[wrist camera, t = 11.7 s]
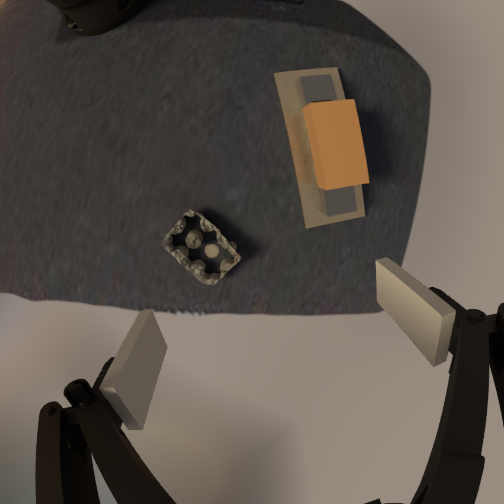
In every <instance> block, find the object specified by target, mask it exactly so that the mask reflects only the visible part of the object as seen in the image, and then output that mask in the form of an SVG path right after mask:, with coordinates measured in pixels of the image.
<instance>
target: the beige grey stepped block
mask: <svg viewBox="0 0 504 504" xmlns="http://www.w3.org/2000/svg"><path fill="white" fill-rule="evenodd" d="M273 77H274V81H275V85H276V89H277V93H278V97H279V102H280V106H281V110H282V115H283V119H284V123H285V128H286V133H287V137H288V142H289V147H290V151H291V156H292V161H293V166H294V171H295V176H296V182H297V187H298V192H299V198H300V203H301V209H302V215H303V220H304V226H305V228H311V227H316V226H320V225H325V224H330V223H335V222H339V221H344V220H349V219H354V218H358V217H363V216H365V209H364V201H363V193H362V186H361V184H359V185H354V186H348V187H342V188H337V189H331V190H324V189H322V188H319V187H318V185H317V180H316V174H315V168H314V163H313V158H312V153H311V148H310V143H309V138H308V133H307V128H306V124H305V119H304V115H303V110H302V108H304V107H305V106H306V105H308V104H309V103H315V102H325V101H336V100H345V96H344V92H343V88H342V84H341V80H340V76H339V72H338V69H337V67H336V68H319V69H307V70H297V71H288V72H280V73H274V74H273Z"/></svg>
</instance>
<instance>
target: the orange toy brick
mask: <svg viewBox="0 0 504 504" xmlns="http://www.w3.org/2000/svg"><path fill="white" fill-rule="evenodd" d="M302 110H303V115H304V119H305V124H306V128H307V133H308V138H309V143H310V148H311V153H312V158H313V163H314V168H315V174H316V180H317V185H318V187H319V188H322V189H324V190H331V189H337V188H342V187H348V186H354V185H359V184H365V183H369V176H368V169H367V163H366V157H365V151H364V145H363V140H362V134H361V129H360V124H359V119H358V115H357V110H356V106H355V101H354V99H348V100H336V101H325V102H315V103H309V104H308V105H306V106H305V107H304V108H302Z"/></svg>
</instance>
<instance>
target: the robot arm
mask: <svg viewBox="0 0 504 504" xmlns="http://www.w3.org/2000/svg"><path fill="white" fill-rule="evenodd" d="M47 1H49V2H50V3H51V4H53V5H54V6H56V7H57V8H59V10H60V13H61V15H62V18H63V20H64V23H65V25H66V26H67V27H68V28H69V29H70V30H71V31H73V32H74V33H76V34H78V35H81V36H94V35H98V34H102V33H104V32H107V31H109V30H111V29H113V28H114V27H116V26H118V25H119V24H121V23H122V22H123V21H125V20H126V19H127V18H128V17H129V16H130V15H131V14H132V13H133V12H134V11H135V10H136V9H137V7H138V6H139V4H140V3H141V1H142V0H47ZM376 278H377V302H378V303H379V304H380V305H381V306H382V308H383V309H384V310H385V311H386V312H387V313H388V314H389V315H390V316H391V318H392V319H393V320H394V321H395V322H396V323H397V324H398V326H399V327H400V328H401V329H402V330H403V331H404V333H405V334H406V335H407V336H408V337H409V338H410V340H411V341H412V342H413V343H414V344H415V346H417V348H418V349H419V350H420V351H421V353H422V354H423V355H424V356H425V357H426V359H427V360H428V361H429V362H430V364H431V365H432V366H433V367H434V366H436V365H439V364H441V363H443V362H445V361H446V359H447V355H448V351H450V353H451V354H452V355H453V358H452V362H451V365H450V369H449V373H450V376H449V381H448V387H447V392H446V397H445V402H444V406H443V411H442V415H441V420H440V423H439V427H438V431H437V435H436V438H435V441H434V445H433V448H432V451H431V454H430V457H429V461H428V463H427V467H426V469H425V472H424V475H423V477H422V480H421V483H420V485H419V487H418V490H417V491H416V493H415V495H414V497H413V499H412V501H411V503H410V504H475V500H476V497H477V493H478V490H479V486H480V481H481V477H482V473H483V469H484V463H485V458H484V456H481V451H482V445H483V438H484V432H485V425H486V416H487V405H488V391H489V365H490V368H491V372H492V375H493V379H494V383H495V387H496V391H497V396H498V400H499V405H500V409H501V415H502V420H503V426H504V303H502V304H500V305H499V307H498V311H497V314H492V315H487V316H486V314H485V313H484V312H482V311H480V310H477V309H468V310H466V309H465V308H463V307H462V306H461V305H460V304H458V303H457V302H456V301H454V300H453V299H451V297H449V296H448V295H446V293H444V292H443V291H442V290H440V289H437V288H434V287H430V288H427V287H426V286H425V285H423V284H422V283H421V282H419V281H418V280H417V279H416V278H414V277H413V276H412V275H410V274H409V273H408V272H406V271H405V270H404V269H402V268H401V267H400V266H398V265H397V264H396V263H394V262H393V261H391V260H390V259H389V258H387V257H386V258H382V259H378V260H376ZM166 350H167V345H166V343H165V340H164V338H163V335H162V333H161V331H160V328H159V326H158V324H157V321H156V319H155V316H154V314H153V311H152V309H150V310H144V311H140V312H139V314H138V316H137V318H136V320H135V322H134V323H133V325H132V327H131V328H130V330H129V332H128V334H127V336H126V338H125V339H124V341H123V343H122V345H121V347H120V349H119V350H118V352H117V354H116V356H115V357H111V358H110V359H109V360H108V361H107V362H106V363H105V364H104V366H103V368H102V372H100V374H99V377H97V379H96V381H95V383H94V385H93V387H92V388H91V387H90V385H89V383H88V382H87V381H86V380H85V379H77V380H74V381H72V382H71V383H69V384H68V385H67V386H66V387H65V389H64V396H65V397H66V398H67V400H68V401H69V403H70V404H71V405H72V407H68V408H62V406H61V405H60V404H59V403H58V402H55V401H54V402H49V403H47V404H46V405H44V406H43V408H42V409H41V410H40V414H39V422H38V432H37V446H36V474H35V475H36V476H35V477H36V479H35V480H36V504H100V500H99V496H98V491H97V486H96V481H95V475H94V470H93V463H92V456H91V453H92V455H93V457H94V459H95V462H96V464H97V466H98V468H99V470H100V472H101V474H102V476H103V478H104V480H105V481H106V484H107V485H108V487H109V489H110V491H111V493H112V494H113V496H114V498H115V500H116V501H117V503H118V504H176V503H175V502H174V500H173V499H172V498H171V497H170V496H169V494H168V493H167V492H166V491H165V490H164V488H163V487H162V486H161V485H160V483H159V482H158V481H157V479H156V478H155V477H154V476H153V474H152V473H151V472H150V470H149V469H148V467H147V466H146V465H145V463H144V462H143V460H142V459H141V458H140V456H139V455H138V453H137V452H136V451H135V449H134V447H133V446H132V445H131V443H130V441H129V440H128V438H127V437H126V435H125V433H124V432H123V431H122V430H121V425H122V422H123V423H124V424H125V426H126V427H127V428H128V430H143V427H144V424H145V420H146V417H147V413H148V410H149V406H150V403H151V399H152V396H153V392H154V389H155V386H156V383H157V379H158V376H159V373H160V369H161V366H162V363H163V359H164V357H165V354H166ZM365 504H381V502H380V499H376V500H374V501H371V502H368V503H365ZM385 504H403V503H385Z"/></svg>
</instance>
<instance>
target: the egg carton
mask: <svg viewBox="0 0 504 504" xmlns="http://www.w3.org/2000/svg"><path fill="white" fill-rule="evenodd" d="M185 215H187V216H189V217H193V216H195V215H198V216H200V217H201V222H200V225H201V227H202V229H203V231H204V232H206V231H213V230H215V231H216V232H217V240H218V243H219V244H220V245H221V247H222V248H227V249H228V251H229V252H230V253H231V254H232V255H233V256H234V259H231V258H225V259H224V260H223V261H222V263H221V267H220V270H221V273H220V274H218V273H211V274H209V275H208V274H207V273H206V272H205V267H206V266H205V263H204V262H203V261H202V260H200V259H197V260H194V261H191V260H190V259H189V258H188V255H189V250H188V248H187V247H185V246H183V245H180V246H177V247H175V246H173V245H172V244H171V243H172V240H173V238H172V235H171V234H173V235H176V234H177V233H181V232H182V231H183V229H184V228H185V226H186V220H185V218H184V216H185ZM202 239H203V235H202V233H201V232H200V231H199V230H196V229H195V230H192V231H190V232H189V234H188V235H187V237H186V244H187V246H188V247H189V248H194V249H196V248H198V247H199V246H200V245H201V242H202ZM161 246H163V247H164V248H165V249H166V250H167V251H168V252H169V253H171V254H172V255H173V256H174V258H176V259H177V260H178V262H179V263H180V264H181V265H183V266H184V267H185V268H186V269H187V270H188V271H190V272H191V273H192V274H193V275H194V276H195V277H196V278H197V279H198V280H199V281H200V282H202V283H203V284H208V285H214V284H216V283H217V282H218V281H219V280H220V279H221V278H222V277H223V276H224V275H225V274H226V273H227V272H228V271H229V270H230V269H231V268H232V267H233V266H234V265H235V264H236V263H237V262H238V261H239V260H241V259H242V257H241V256H240V255H239V254H238V253H237V252H236V248H237V246H236V244H235V243H234V242H233V241H230V242H228V241H227V239H226V238H225V237H224V236H223V235H221V233H220V230H219V229H217V228H216V227H215V226H214V225H213V224H212V223H210V222H209V221H208V220H206V219H205V218H204V217H203V215H202V214H201V213H200V212H196V211H192V210H191V209H189V210H188V211H187V212H186V213H185V214H184V215H183V217H182V218H181V220H180V221H178V222H177V224H176V225H175V226H174V227H173V228H172V230H171V231H170V232H169V233H168V234H167V235H166V237H165V238H164V239H163V241H162V243H161ZM205 253H206V255H207V256H208V257H210V258H215V257H217V256H218V254H219V248H218V246H216V245H215V244H209V245H207V246H206V248H205Z"/></svg>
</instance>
